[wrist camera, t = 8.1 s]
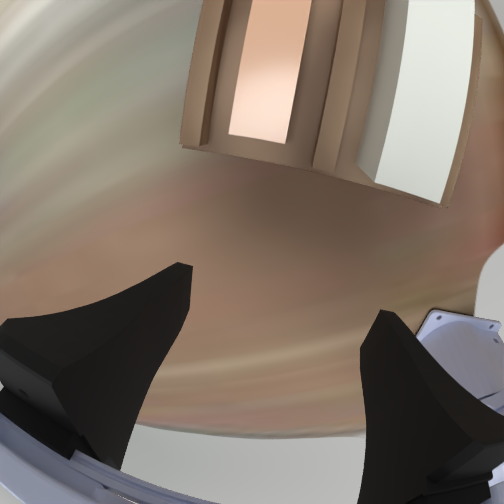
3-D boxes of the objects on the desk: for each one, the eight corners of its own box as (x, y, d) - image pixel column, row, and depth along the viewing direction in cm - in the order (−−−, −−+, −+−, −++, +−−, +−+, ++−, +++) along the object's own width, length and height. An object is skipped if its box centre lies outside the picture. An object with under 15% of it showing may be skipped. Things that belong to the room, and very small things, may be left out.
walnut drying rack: (468, 23, 11) (487, 16, 8) (434, 204, 17) (450, 217, 15) (222, -40, 12) (212, -57, 10) (187, 146, 18) (172, 151, 16)
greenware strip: (437, 10, 11) (474, -12, 6) (406, 179, 16) (439, 203, 12) (386, -11, 11) (411, -43, 6) (354, 163, 16) (374, 182, 12)
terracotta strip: (316, -22, 11) (317, -35, 10) (286, 140, 16) (284, 143, 15) (266, -28, 11) (262, -42, 10) (236, 131, 17) (228, 134, 15)
